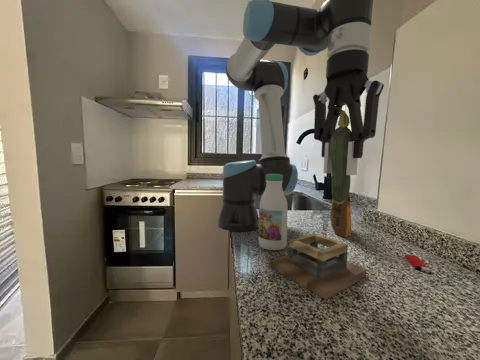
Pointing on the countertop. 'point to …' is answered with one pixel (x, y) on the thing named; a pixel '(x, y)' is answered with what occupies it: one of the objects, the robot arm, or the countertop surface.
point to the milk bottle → (273, 215)
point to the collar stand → (319, 265)
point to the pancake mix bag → (341, 218)
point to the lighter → (417, 263)
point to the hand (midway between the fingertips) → (339, 173)
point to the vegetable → (340, 159)
